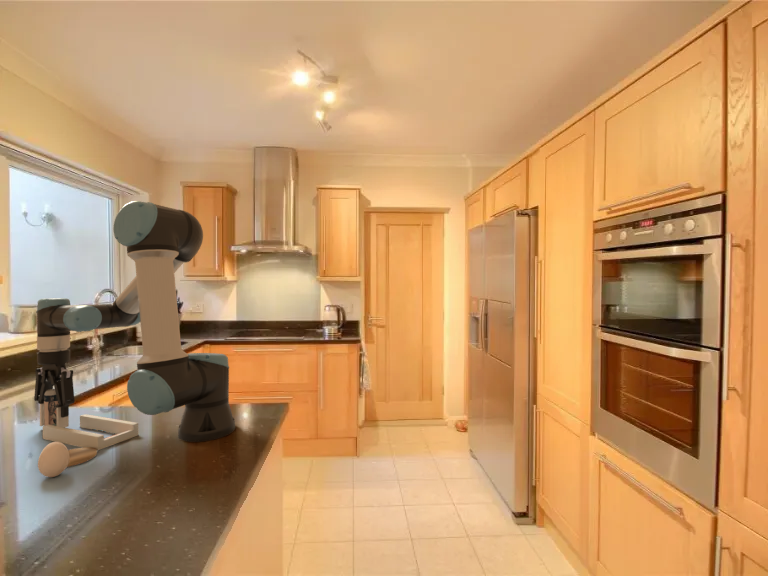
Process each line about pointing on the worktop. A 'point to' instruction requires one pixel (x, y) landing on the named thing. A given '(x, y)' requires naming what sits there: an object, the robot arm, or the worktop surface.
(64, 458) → the egg
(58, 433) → the beige u-shaped bracket
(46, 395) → the beer can
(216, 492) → the worktop surface
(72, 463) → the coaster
